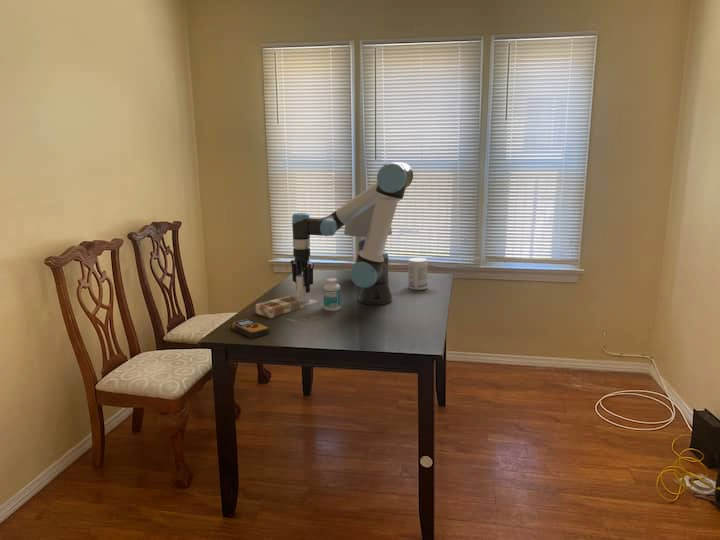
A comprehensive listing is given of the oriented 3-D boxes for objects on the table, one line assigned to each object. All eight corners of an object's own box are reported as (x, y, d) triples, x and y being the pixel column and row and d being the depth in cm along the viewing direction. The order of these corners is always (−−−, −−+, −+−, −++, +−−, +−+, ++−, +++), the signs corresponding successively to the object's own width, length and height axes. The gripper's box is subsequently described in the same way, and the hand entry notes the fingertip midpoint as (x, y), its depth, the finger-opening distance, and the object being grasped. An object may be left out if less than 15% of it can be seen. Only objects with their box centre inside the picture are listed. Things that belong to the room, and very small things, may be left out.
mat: (318, 302, 237) (318, 301, 237) (302, 307, 230) (302, 306, 230) (304, 298, 244) (304, 297, 244) (287, 302, 237) (287, 301, 237)
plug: (309, 301, 237) (308, 274, 234) (302, 303, 234) (302, 276, 231) (303, 299, 240) (302, 273, 237) (297, 301, 237) (296, 274, 234)
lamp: (348, 273, 292) (348, 197, 283) (393, 274, 289) (394, 197, 279) (341, 284, 268) (339, 201, 258) (389, 286, 265) (390, 202, 255)
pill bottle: (333, 305, 232) (332, 276, 229) (344, 309, 227) (343, 279, 224) (320, 309, 227) (319, 279, 224) (331, 312, 222) (330, 282, 219)
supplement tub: (427, 286, 265) (428, 257, 262) (426, 290, 256) (427, 261, 253) (408, 285, 267) (409, 257, 264) (407, 290, 258) (407, 261, 254)
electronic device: (251, 340, 192) (250, 332, 191) (230, 329, 203) (230, 321, 202) (270, 335, 197) (270, 326, 196) (249, 324, 208) (249, 316, 208)
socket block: (303, 308, 228) (303, 299, 227) (270, 318, 215) (270, 308, 214) (288, 304, 235) (288, 295, 234) (256, 313, 222) (255, 303, 221)
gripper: (320, 248, 228) (322, 300, 233) (295, 244, 240) (297, 293, 245) (308, 251, 223) (309, 303, 228) (282, 246, 234) (284, 296, 239)
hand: (303, 298), depth 236 cm, fingers closed on plug, 4 cm apart
